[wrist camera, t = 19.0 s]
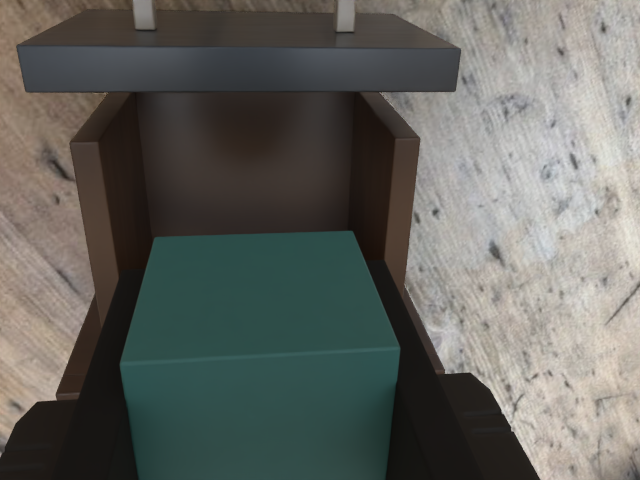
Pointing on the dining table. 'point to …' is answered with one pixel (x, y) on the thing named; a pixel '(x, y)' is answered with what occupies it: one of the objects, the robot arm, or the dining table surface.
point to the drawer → (240, 125)
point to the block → (260, 360)
